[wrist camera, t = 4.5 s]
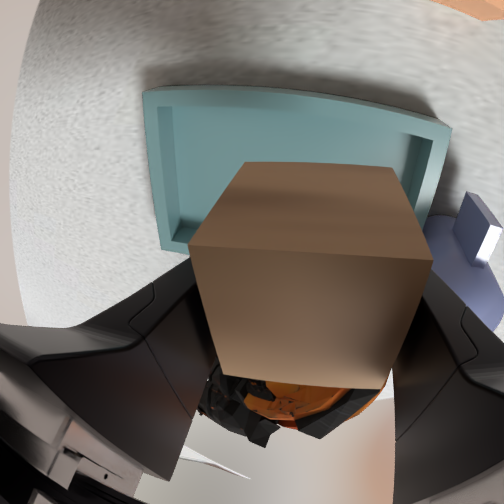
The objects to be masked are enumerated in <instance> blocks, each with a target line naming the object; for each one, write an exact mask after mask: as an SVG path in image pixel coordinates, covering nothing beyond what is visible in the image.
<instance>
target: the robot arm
mask: <svg viewBox="0 0 504 504" xmlns="http://www.w3.org/2000/svg"><path fill="white" fill-rule="evenodd" d="M216 355H217V352H216V348H215V345H214V342H213V338H212V335H211V332H210V328H209V325H208V321H207V318H206V314H205V311H204V307H203V303H202V300H201V296H200V292H199V289H198V285H197V281H196V277H195V274H194V270H193V266H192V262H191V258H190V257H189V258H188V259H186V260H185V261H183V262H182V263H180V264H179V265H177V266H176V267H174V268H172V269H171V270H169V271H168V272H166V273H165V274H163V275H162V276H160V277H159V278H157V279H156V280H154V281H153V283H152V282H151V283H149V284H148V285H146V286H145V287H143V288H142V289H140V290H139V291H137V292H136V293H134V294H132V295H131V296H129V297H128V298H126V299H124V300H122V301H121V302H119V303H117V304H116V305H114V306H112V307H110V308H108V309H107V310H105V311H103V312H101V313H100V314H98V315H96V316H94V317H92V318H91V319H89V320H87V321H85V322H83V323H81V324H79V325H77V326H73V327H69V328H48V327H32V326H18V325H7V324H1V323H0V504H148V503H145V502H143V501H141V500H138V499H136V498H134V497H133V496H134V494H135V491H136V488H137V486H138V483H139V481H140V479H141V476H142V474H143V472H144V473H146V474H149V475H151V476H154V477H157V478H160V479H162V480H165V481H170V479H171V477H172V475H173V472H174V469H175V466H176V464H177V461H178V458H179V456H180V453H181V450H182V448H183V445H184V442H185V439H186V437H187V434H188V431H189V428H190V426H191V423H192V419H193V417H194V415H195V412H196V409H197V407H198V404H199V401H200V398H201V396H202V393H203V390H204V388H205V385H206V382H207V379H208V377H209V374H210V371H211V369H212V366H213V363H214V360H215V358H216ZM392 371H393V385H394V402H395V403H394V404H395V441H396V443H395V476H394V494H393V504H504V343H503V342H502V341H501V340H500V339H499V338H498V337H497V336H496V335H495V334H494V333H493V332H492V331H491V330H490V329H489V328H488V327H487V326H486V325H485V324H484V323H483V322H482V320H481V319H480V318H479V317H478V316H477V315H476V314H475V313H474V312H473V311H472V310H471V309H470V308H469V307H468V306H466V303H465V302H464V301H463V300H462V299H461V298H460V297H459V296H458V295H457V294H456V293H455V292H454V291H453V290H452V289H451V288H450V287H449V286H448V285H447V284H446V283H445V282H444V281H443V280H442V279H441V278H440V277H439V276H438V275H437V274H436V273H435V272H434V271H433V270H432V269H431V270H430V273H429V276H428V279H427V282H426V285H425V288H424V291H423V294H422V297H421V299H420V302H419V305H418V308H417V310H416V313H415V315H414V318H413V320H412V323H411V325H410V328H409V330H408V333H407V335H406V337H405V340H404V342H403V344H402V346H401V349H400V351H399V353H398V355H397V358H396V360H395V362H394V364H393V366H392Z"/></svg>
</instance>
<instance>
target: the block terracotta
mask: <svg viewBox="0 0 504 504" xmlns="http://www.w3.org/2000/svg"><path fill="white" fill-rule="evenodd" d="M431 1H434V2H437V3H440V4H443V5H445V6H448V7H451V8H453V9H456V10H458V11H461V12H463V13H465V14H468V15H470V16H472V17H474V18H477V19H479V20H481V21H487V20H500V19H504V0H431Z"/></svg>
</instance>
